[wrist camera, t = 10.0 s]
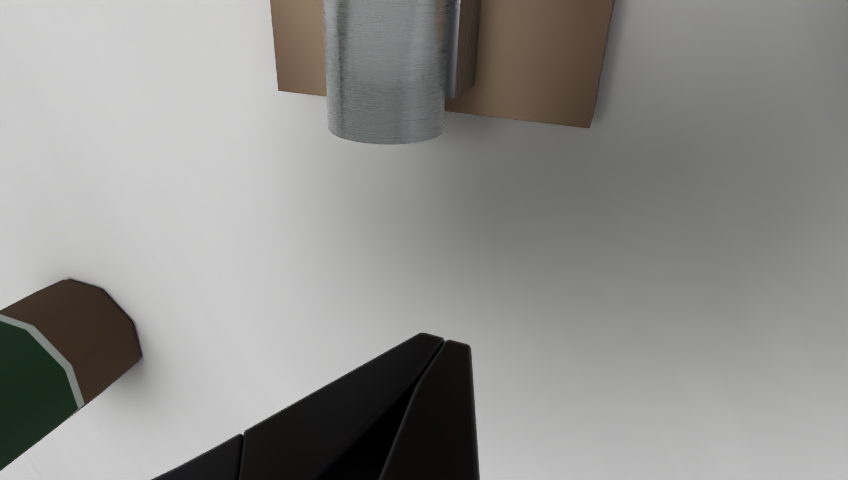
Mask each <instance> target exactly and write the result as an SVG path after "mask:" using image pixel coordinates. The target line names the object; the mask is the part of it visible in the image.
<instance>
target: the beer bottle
mask: <svg viewBox="0 0 848 480" xmlns="http://www.w3.org/2000/svg"><path fill="white" fill-rule="evenodd" d="M140 357H141V353H140V349H139V345H138V341H137V337H136V333H135V329H134V325H133V322H132V321H131V319H130V318H129V317H128V316H127V315H126V314H125V313H124V312H123V311H122V310H121V309H120V308H119V307H118V305H117V304H116V303H115V302H114V301H113V300H112V299H111V298H110V297H109V296H108V295H107V294H106V293H105V292H104V290H103V289H100V288H96V287H93V286H90V285H87V284H83V283H80V282H77V281H73V280H62V281H59V282H57V283H55V284H53V285H50V286H48V287H46V288H44V289H42V290H39V291H37V292H35V293H33V294H31V295H29V296H27V297H25V298H23V299H22V300H20V301H18V302H16V303H14V304H12V305H10V306H8V307H6V308H4V309H2V310H0V471H1V470H2V469H3V468H5V467H6V466H7V465H9V464H10V463H11V462H12V461H14V460H15V459H16V458H18V457H19V456H20V455H22V454H23V453H24V452H25V451H27V450H28V449H29V448H31V447H32V446H33V445H35V444H36V443H37V442H38V441H40V440H41V439H42V438H44V437H45V436H46V435H48V434H49V433H50V432H51V431H53V430H54V429H55V428H57V427H58V426H59V425H60V424H62V423H63V422H64V421H66V420H67V419H68V418H70V417H71V416H72V415H73V414H75V413H76V412H77V411H79V410H80V409H81V408H83V407H84V406H85V405H86V404H88V403H89V402H90V401H92V400H93V399H94V398H96V397H97V396H98V395H99V394H101V393H102V392H103V391H104V390H105V389H106V388H108V387H109V386H110V385H111V384H112V383H114V382H115V381H116V380H117V379H118V378H119V377H121V376H122V375H123V374H124V373H125V372H126V371H127V370H129V369H130V368H131V367H132V366H133V365H134V364H136V363H137V362H138V361H139V359H140Z"/></svg>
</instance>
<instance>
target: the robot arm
mask: <svg viewBox="0 0 848 480" xmlns="http://www.w3.org/2000/svg"><path fill="white" fill-rule="evenodd" d="M152 480H480V475H479V460H478V445H477V430H476V415H475V400H474V385H473V370H472V356H471V347H470V346H469V345H468V344H464V343H461V342H457V341H453V340H446V341H445V340H444V339H443V338H442V337H439V336H435V335H431V334H428V333H419V334H417V335H415V336H413V337H412V338H410V339H408V340H406V341H404V342H403V343H401V344H399V345H397V346H396V347H394V348H392V349H390V350H388V351H387V352H385V353H383V354H381V355H379V356H378V357H376V358H374V359H372V360H371V361H369V362H367V363H365V364H363V365H362V366H360V367H358V368H356V369H354V370H353V371H351V372H349V373H347V374H345V375H344V376H342V377H340V378H338V379H337V380H335V381H333V382H331V383H329V384H328V385H326V386H324V387H322V388H320V389H319V390H317V391H315V392H313V393H311V394H310V395H308V396H306V397H304V398H303V399H301V400H299V401H297V402H295V403H294V404H292V405H290V406H288V407H286V408H285V409H283V410H281V411H279V412H278V413H276V414H274V415H272V416H270V417H269V418H267V419H265V420H263V421H261V422H260V423H258V424H256V425H254V426H252V427H251V428H249V429H247V430H245V432H244V436H243V435H242V434H238V435H236V436H234V437H232V438H231V439H229V440H227V441H225V442H223V443H222V444H220V445H218V446H216V447H214V448H213V449H211V450H209V451H207V452H205V453H203V454H201V455H199V456H197V457H196V458H194V459H192V460H190V461H188V462H186V463H184V464H182V465H180V466H179V467H177V468H174V469H172V470H170V471H168V472H166V473H164V474H162V475H160V476H158V477H156V478H154V479H152Z"/></svg>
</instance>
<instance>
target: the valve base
mask: <svg viewBox="0 0 848 480" xmlns="http://www.w3.org/2000/svg"><path fill="white" fill-rule="evenodd" d="M270 4H271V15H272V26H273V37H274V48H275V59H276V70H277V81H278V91H286V92H294V93H302V94H310V95H319V96H327V108H328V128H329V131H330V132H331V133H333V134H334V135H336V136H338V137H341V138H344V139H347V140H351V141H356V142H363V143H372V144H407V143H416V142H422V141H426V140H430V139H433V138H435V137H437V136H439V135H441V133H442V132H443V125H444V111H451V112H459V113H467V114H475V115H484V116H492V117H500V118H508V119H517V120H525V121H533V122H541V123H550V124H558V125H566V126H574V127H583V128H590V125H591V122H592V118H593V113H594V108H595V102H596V97H597V92H598V86H599V81H600V75H601V70H602V65H603V59H604V54H605V48H606V43H607V37H608V32H609V27H610V21H611V16H612V10H613V5H614V0H270Z"/></svg>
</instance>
